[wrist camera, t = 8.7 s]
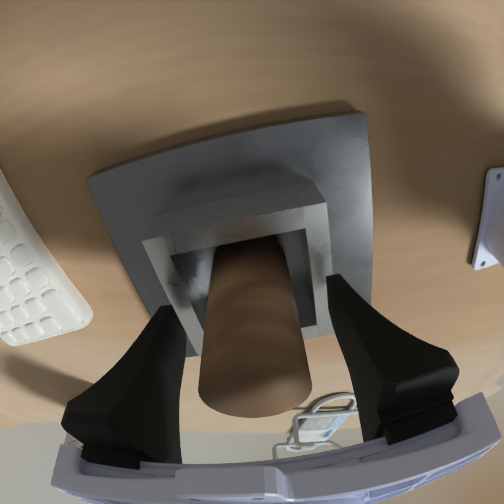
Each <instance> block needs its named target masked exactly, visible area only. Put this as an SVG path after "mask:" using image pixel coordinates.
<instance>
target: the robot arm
mask: <svg viewBox="0 0 504 504" xmlns="http://www.w3.org/2000/svg"><path fill="white" fill-rule="evenodd" d="M497 263H500V264H501V265H502V266H503V267H504V167H501V168H492V169H489V171H488V172H487V175H486V184H485V193H484V201H483V208H482V215H481V221H480V227H479V232H478V238H477V243H476V247H475V252H474V257H473V261H472V268H473V269H474V270H479V269H482V268H485V267H488V266H491V265H494V264H497ZM326 285H327V299H328V310H329V314H330V318H331V322H332V326H333V329H334V332H335V334H336V337H337V340H338V342H339V345H340V348H341V350H342V353H343V356H344V358H345V361H346V364H347V367H348V370H349V373H350V377H351V381H352V385H353V390H354V394H355V399H356V403H357V408H358V413H359V418H360V424H361V429H362V436H363V442H364V443H360V444H356V445H352V446H348V447H344V448H339V449H335V450H330V451H325V452H320V453H315V454H309V455H303V456H297V457H290V458H282V459H274V460H266V461H256V462H243V463H227V464H226V463H225V464H182V457H181V448H180V433H179V397H180V388H181V382H182V375H183V369H184V363H185V356H186V335H187V333H186V331H185V329H184V327H183V326H182V324H181V322H180V320H179V318H178V316H177V314H176V312H175V310H174V308H173V306H172V304H171V305H164V306H160V307H159V308H158V310H157V311H156V313H155V314H154V315H153V317H152V318H151V320H150V321H149V323H148V324H147V325H146V327H145V328H144V330H143V331H142V332H141V334H140V335H139V337H138V338H137V339H136V341H135V342H134V343H133V344H132V346H131V347H130V348H129V349H128V351H127V352H126V353H125V354H124V356H123V357H122V358H121V359H120V360H119V361H118V362H117V363H116V364H115V365H114V366H113V368H112V369H110V370H109V371H108V372H107V373H106V374H105V375H104V376H103V377H102V378H101V379H100V380H98V381H97V382H96V383H95V384H94V385H92V386H91V387H90V388H88V389H87V390H86V391H84V392H83V393H81V394H80V395H78V396H77V397H75V398H74V399H72V400H71V401H69V402H68V403H67V406H66V409H65V412H64V415H63V418H62V421H61V425H62V427H63V428H64V430H65V431H66V432H68V433H69V434H70V435H71V436H73V437H74V438H76V439H77V440H78V441H80V442H81V443H82V444H84V445H83V449H80V448H78V447H74V446H69V445H65V444H61V445H60V448H59V451H58V456H57V459H56V463H55V467H54V471H53V476H52V480H51V485H52V486H53V487H55V488H57V489H59V490H61V491H63V492H65V493H67V494H70V495H72V496H74V497H76V498H78V499H81V500H83V501H87V502H90V503H94V504H374V503H377V502H380V501H383V500H386V499H389V498H392V497H395V496H398V495H400V494H403V493H406V492H408V491H411V490H414V489H416V488H418V487H421V486H423V485H426V484H428V483H430V482H432V481H435V480H437V479H439V478H441V477H443V476H445V475H448V474H450V473H452V472H454V471H456V470H458V469H460V468H462V467H464V466H466V465H468V464H470V463H472V462H474V461H476V460H477V459H479V458H480V457H481V456H482V455H484V454H485V453H486V452H488V451H489V450H490V449H491V448H492V447H494V446H495V445H496V444H497V443H498V442H499V441H501V439H502V436H501V433H500V431H499V429H498V426H497V424H496V422H495V419H494V417H493V415H492V412H491V410H490V408H489V406H488V404H487V401H486V399H485V397H484V395H483V393H482V392H480V393H478V394H476V395H474V396H471V397H469V398H467V399H465V400H463V401H461V402H459V403H458V404H456V405H455V406H454V404H453V402H452V400H453V399H454V396H453V394H452V392H451V389H452V387H453V386H454V384H455V382H456V380H457V378H458V376H459V368H458V366H457V364H456V362H455V361H454V359H453V357H452V356H451V355H450V353H449V352H448V351H447V350H444V349H442V348H439V347H437V346H434V345H431V344H429V343H427V342H425V341H423V340H420V339H418V338H416V337H415V336H413V335H411V334H409V333H408V332H406V331H404V330H402V329H401V328H399V327H398V326H396V325H395V324H393V323H392V322H390V321H389V320H388V319H386V318H385V317H384V316H382V315H381V314H380V313H379V312H378V311H376V310H375V309H374V308H373V307H372V306H371V305H369V304H368V303H367V302H366V301H365V300H364V299H363V298H362V297H361V296H360V295H359V294H358V293H357V292H356V291H355V290H354V289H353V288H352V287H351V286H350V285H349V284H348V282H347V281H346V280H345V279H344V278H343V277H342V275H340V274H334V275H329V276H326Z"/></svg>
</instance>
